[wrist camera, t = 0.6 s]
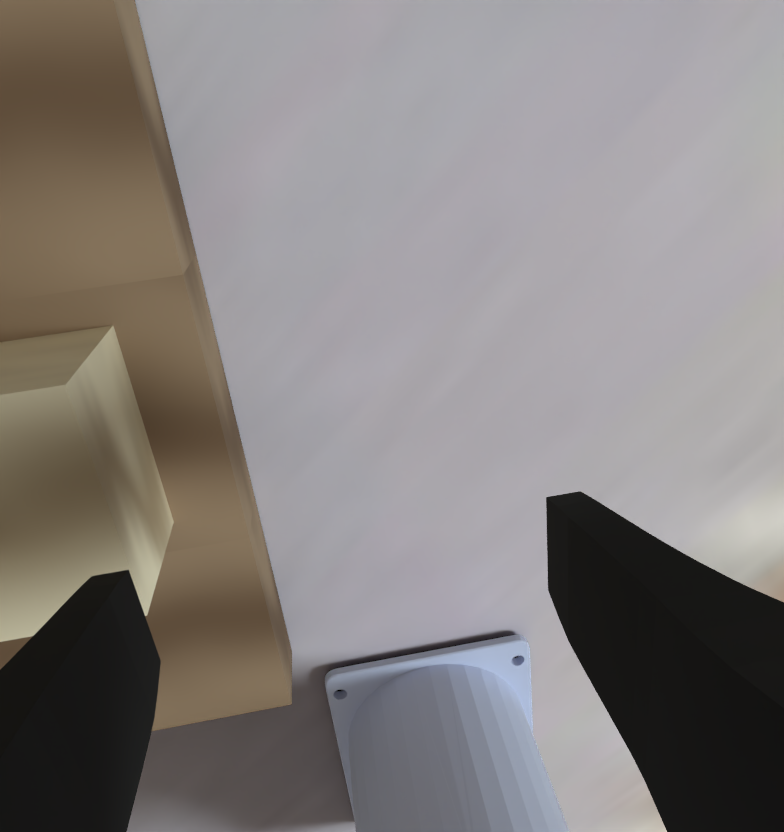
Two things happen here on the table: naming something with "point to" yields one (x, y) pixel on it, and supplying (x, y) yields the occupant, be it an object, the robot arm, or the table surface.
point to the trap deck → (137, 332)
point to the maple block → (73, 477)
